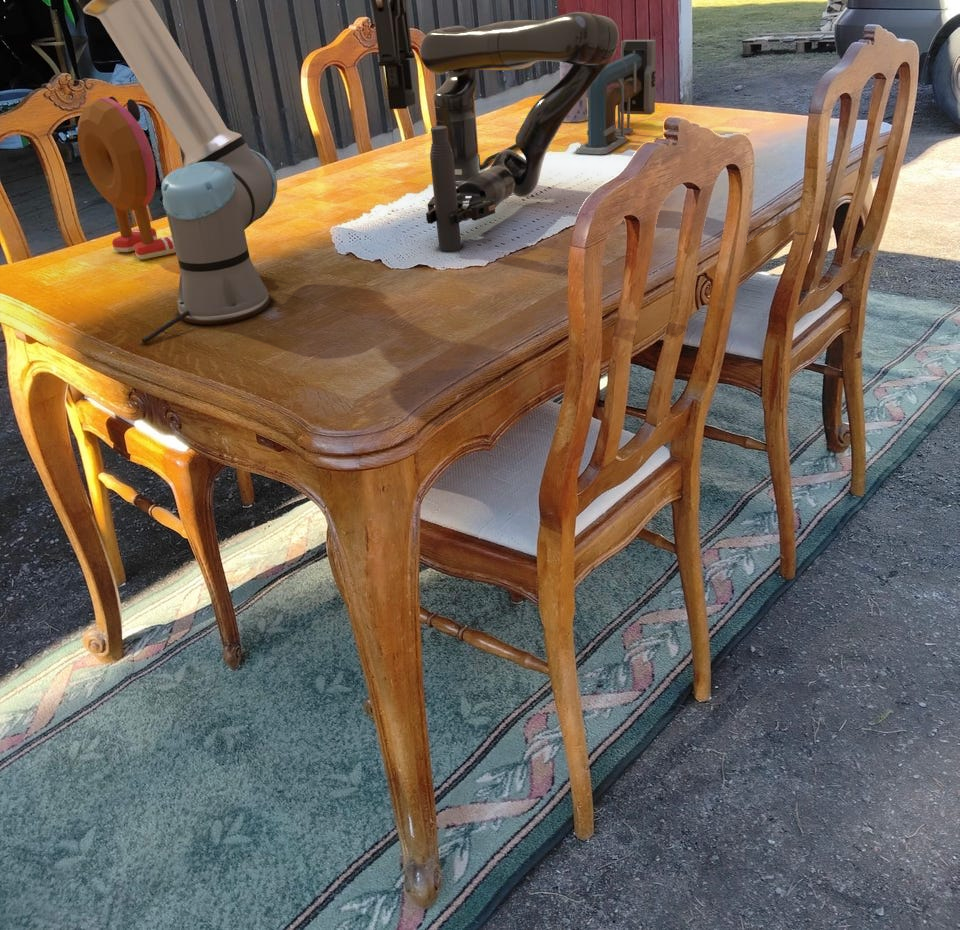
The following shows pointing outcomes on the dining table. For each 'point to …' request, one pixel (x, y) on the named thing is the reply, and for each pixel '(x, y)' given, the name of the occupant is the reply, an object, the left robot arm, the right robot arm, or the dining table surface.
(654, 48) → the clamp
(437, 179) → the bottle
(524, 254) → the dining table surface
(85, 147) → the toy
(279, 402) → the dining table surface
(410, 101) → the cap
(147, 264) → the dining table surface
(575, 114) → the aerosol can
